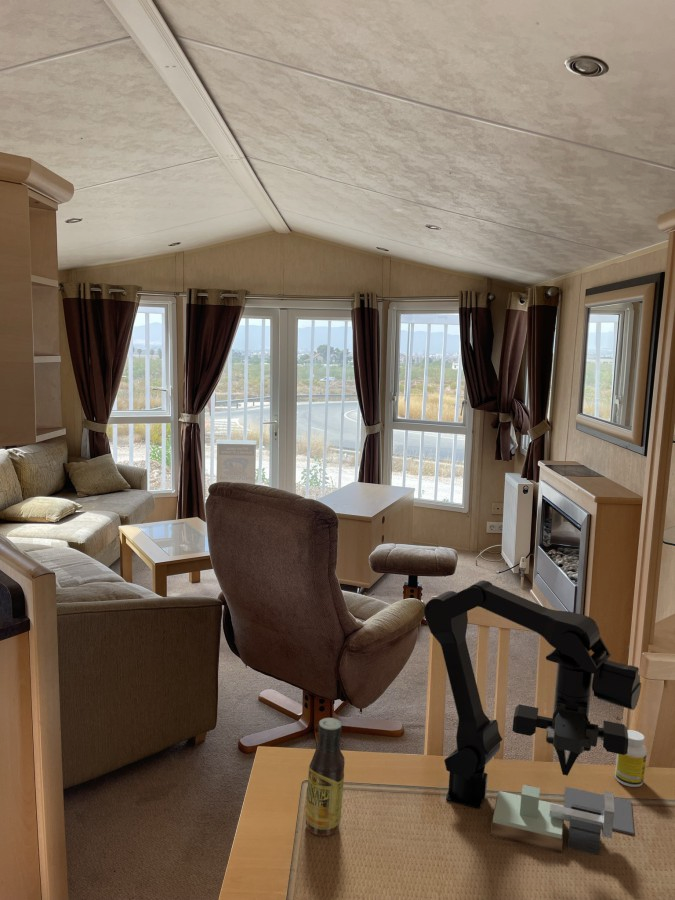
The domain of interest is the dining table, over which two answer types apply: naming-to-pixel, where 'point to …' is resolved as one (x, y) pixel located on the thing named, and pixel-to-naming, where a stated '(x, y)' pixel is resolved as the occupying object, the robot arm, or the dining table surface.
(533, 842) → the case
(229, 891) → the dining table surface
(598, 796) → the grey flat plate
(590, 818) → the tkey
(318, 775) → the sauce bottle
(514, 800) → the cover
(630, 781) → the supplement bottle
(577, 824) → the lock block
